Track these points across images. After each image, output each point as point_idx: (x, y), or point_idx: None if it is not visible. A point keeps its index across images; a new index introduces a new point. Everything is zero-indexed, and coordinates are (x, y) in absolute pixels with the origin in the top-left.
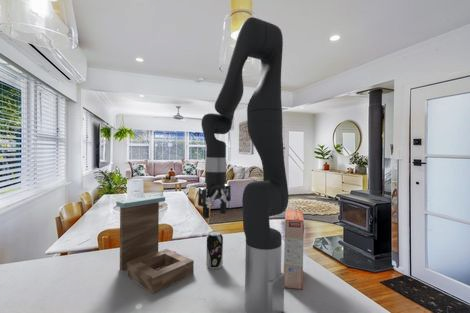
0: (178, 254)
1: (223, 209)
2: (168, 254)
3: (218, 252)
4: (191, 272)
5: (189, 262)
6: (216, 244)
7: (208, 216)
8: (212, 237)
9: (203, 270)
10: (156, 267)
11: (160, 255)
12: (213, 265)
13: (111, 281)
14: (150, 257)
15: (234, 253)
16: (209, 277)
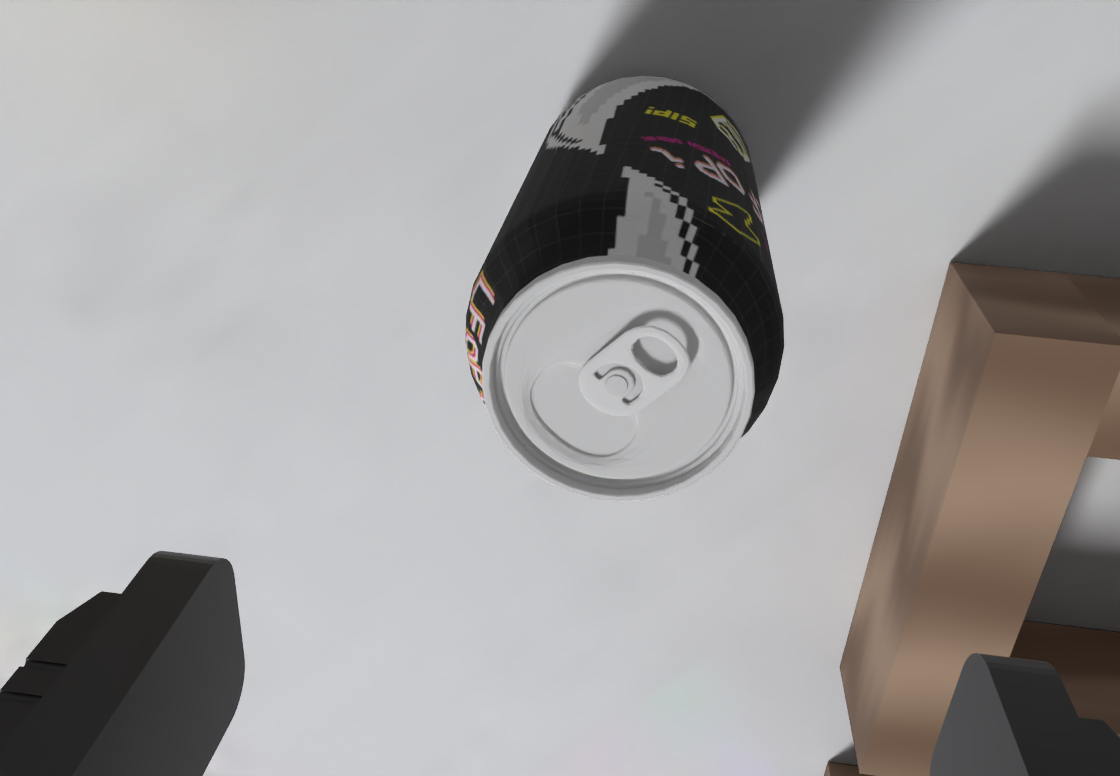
0: (929, 588)
1: (165, 692)
2: None
3: (689, 139)
4: (991, 276)
5: (1071, 340)
6: (728, 203)
7: (1033, 693)
8: (756, 330)
9: (811, 221)
10: (1058, 638)
11: None
12: (740, 139)
13: None
14: None
15: (177, 191)
16: (930, 38)
